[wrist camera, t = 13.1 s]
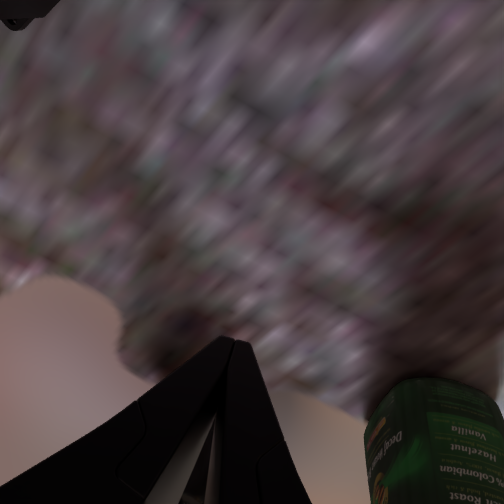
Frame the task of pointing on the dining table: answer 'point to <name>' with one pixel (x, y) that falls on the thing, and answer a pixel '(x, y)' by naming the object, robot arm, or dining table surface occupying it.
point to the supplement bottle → (199, 474)
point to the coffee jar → (435, 445)
